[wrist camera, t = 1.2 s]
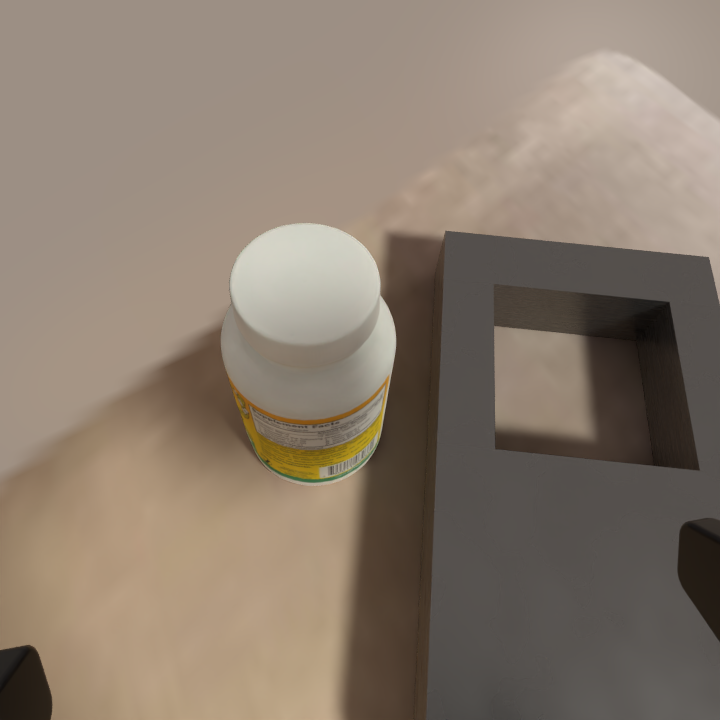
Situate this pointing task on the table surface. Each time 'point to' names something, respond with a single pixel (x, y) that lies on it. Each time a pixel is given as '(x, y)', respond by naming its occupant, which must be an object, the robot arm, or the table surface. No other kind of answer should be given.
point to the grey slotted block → (566, 497)
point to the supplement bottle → (309, 351)
